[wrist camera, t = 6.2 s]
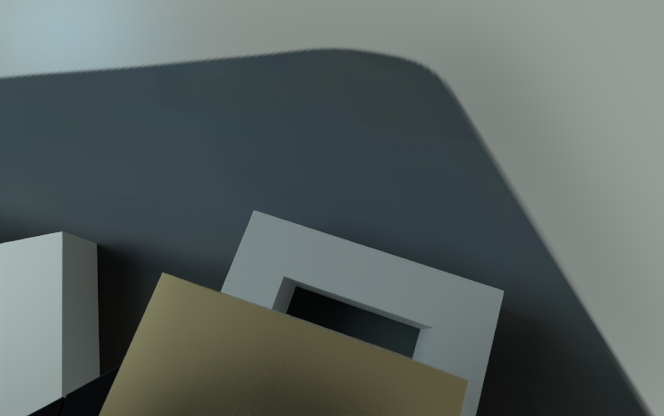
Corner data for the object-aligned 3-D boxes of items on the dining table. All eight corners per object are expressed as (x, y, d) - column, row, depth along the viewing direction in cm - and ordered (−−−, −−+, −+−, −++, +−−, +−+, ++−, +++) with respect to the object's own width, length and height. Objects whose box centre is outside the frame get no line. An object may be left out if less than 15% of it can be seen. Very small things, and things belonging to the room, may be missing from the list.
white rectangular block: (101, 432, 22) (61, 446, 19) (-53, 462, 22) (-116, 482, 19) (96, 243, 25) (62, 231, 22) (-39, 270, 25) (-91, 261, 22)
